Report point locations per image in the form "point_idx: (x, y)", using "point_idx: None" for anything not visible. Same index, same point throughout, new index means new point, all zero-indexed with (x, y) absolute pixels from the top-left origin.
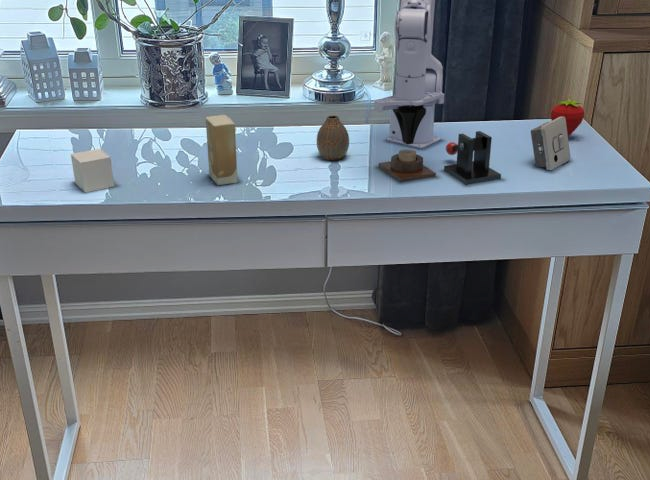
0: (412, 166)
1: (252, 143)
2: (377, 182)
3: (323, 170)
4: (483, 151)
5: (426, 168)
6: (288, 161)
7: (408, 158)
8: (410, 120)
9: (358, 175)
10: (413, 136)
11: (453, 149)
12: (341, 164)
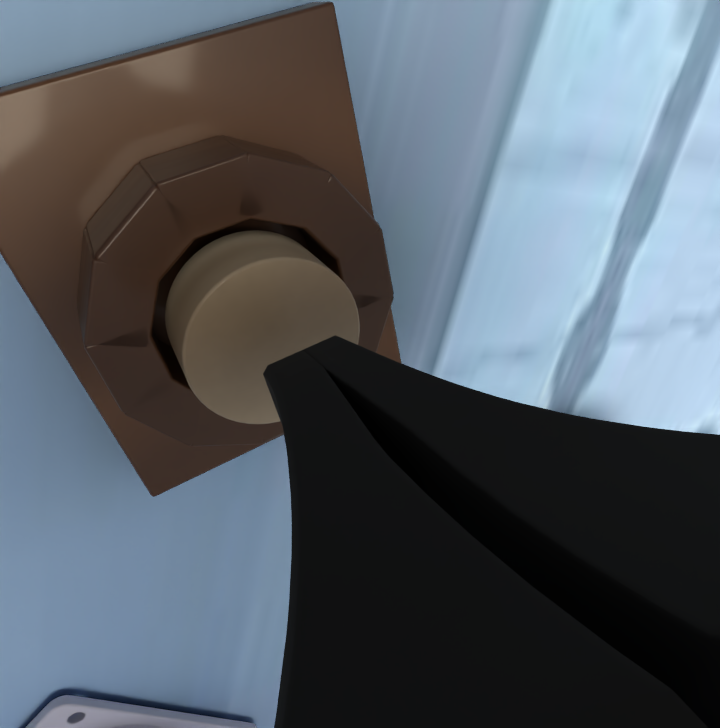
0: (219, 152)
1: None
2: (471, 71)
3: (638, 311)
4: None
5: (37, 263)
6: (691, 410)
7: (270, 242)
8: (589, 490)
9: (529, 229)
10: (306, 397)
11: None
12: (542, 396)
